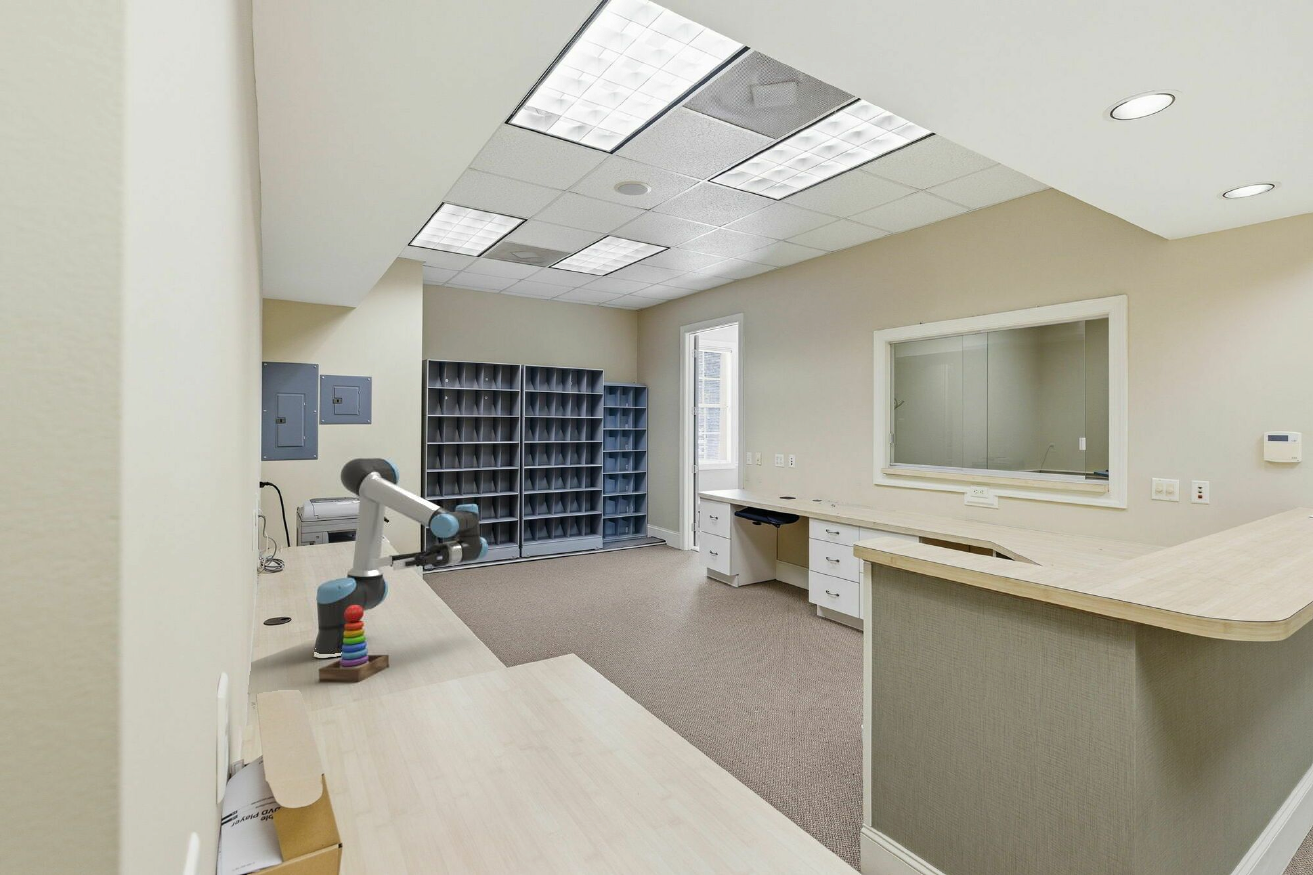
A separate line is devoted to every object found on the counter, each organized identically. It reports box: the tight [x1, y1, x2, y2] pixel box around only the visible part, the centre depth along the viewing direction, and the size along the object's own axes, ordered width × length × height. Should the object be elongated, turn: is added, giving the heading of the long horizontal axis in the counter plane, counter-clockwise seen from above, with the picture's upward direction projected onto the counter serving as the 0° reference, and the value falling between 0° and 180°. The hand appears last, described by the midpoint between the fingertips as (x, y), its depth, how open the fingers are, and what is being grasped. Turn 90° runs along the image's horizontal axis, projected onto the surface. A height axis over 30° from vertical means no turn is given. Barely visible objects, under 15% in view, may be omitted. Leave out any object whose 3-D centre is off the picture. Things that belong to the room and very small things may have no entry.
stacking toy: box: [339, 605, 369, 668], centre depth 182 cm, size 8×8×19 cm
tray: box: [318, 654, 390, 683], centre depth 181 cm, size 13×13×4 cm
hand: (382, 564), depth 190 cm, fingers open, 13 cm apart
